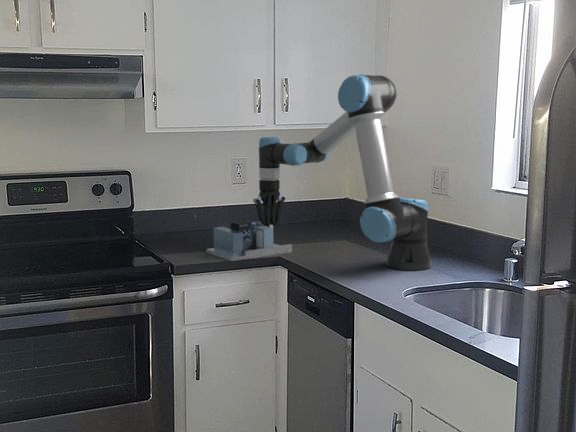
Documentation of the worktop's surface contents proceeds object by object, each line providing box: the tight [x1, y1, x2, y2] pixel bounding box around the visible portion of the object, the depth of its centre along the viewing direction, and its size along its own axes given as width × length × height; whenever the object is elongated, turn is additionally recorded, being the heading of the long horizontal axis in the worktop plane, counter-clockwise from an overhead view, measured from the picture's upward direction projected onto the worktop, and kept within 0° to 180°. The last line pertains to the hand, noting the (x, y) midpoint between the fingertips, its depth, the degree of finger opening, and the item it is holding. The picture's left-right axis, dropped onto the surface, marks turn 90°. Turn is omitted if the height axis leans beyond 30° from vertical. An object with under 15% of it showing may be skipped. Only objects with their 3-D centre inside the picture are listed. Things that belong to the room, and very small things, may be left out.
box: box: [230, 219, 256, 251], centre depth 271 cm, size 8×6×11 cm
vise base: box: [206, 226, 293, 262], centre depth 273 cm, size 18×26×9 cm
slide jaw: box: [254, 220, 274, 249], centre depth 275 cm, size 14×4×10 cm, turn 35°
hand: (269, 241), depth 279 cm, fingers closed
